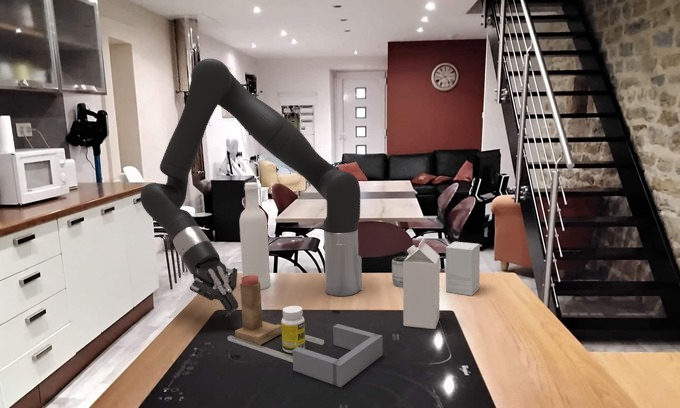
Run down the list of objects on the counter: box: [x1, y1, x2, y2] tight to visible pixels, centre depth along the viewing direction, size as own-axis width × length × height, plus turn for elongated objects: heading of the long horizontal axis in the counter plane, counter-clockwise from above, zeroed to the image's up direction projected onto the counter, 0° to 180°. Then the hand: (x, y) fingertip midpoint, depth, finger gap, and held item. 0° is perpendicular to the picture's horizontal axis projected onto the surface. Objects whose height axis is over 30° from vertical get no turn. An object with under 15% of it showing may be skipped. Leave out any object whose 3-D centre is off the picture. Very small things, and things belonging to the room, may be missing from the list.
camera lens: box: [391, 255, 408, 288], centre depth 135 cm, size 6×6×8 cm
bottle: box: [239, 181, 271, 290], centre depth 135 cm, size 8×8×30 cm
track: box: [227, 334, 325, 364], centre depth 100 cm, size 10×18×1 cm, turn 54°
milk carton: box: [402, 237, 441, 330], centre depth 107 cm, size 7×7×19 cm
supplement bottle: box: [280, 305, 306, 354], centre depth 96 cm, size 5×5×8 cm
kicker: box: [234, 275, 282, 346], centre depth 102 cm, size 7×7×13 cm
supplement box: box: [445, 241, 481, 297], centre depth 128 cm, size 7×7×13 cm
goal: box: [292, 323, 384, 388], centre depth 90 cm, size 14×11×4 cm
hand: (234, 309), depth 106 cm, fingers closed
